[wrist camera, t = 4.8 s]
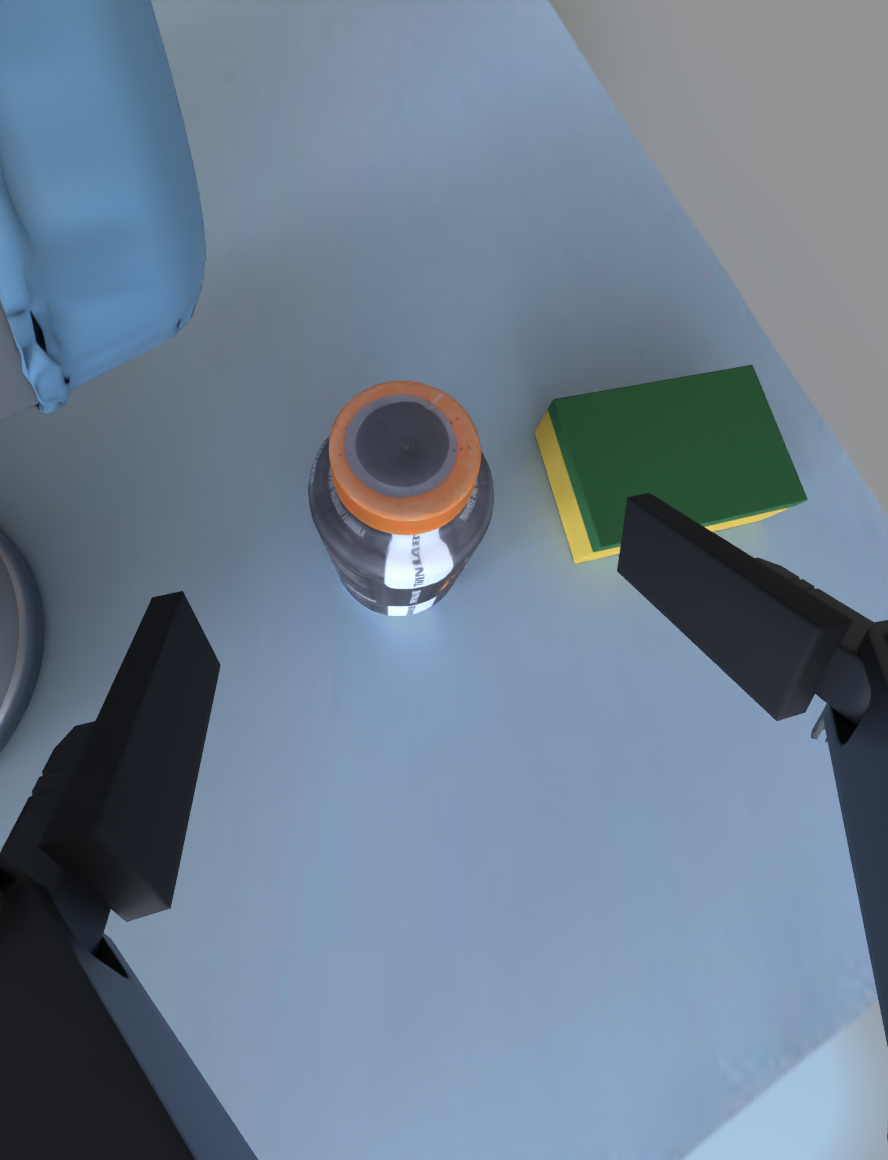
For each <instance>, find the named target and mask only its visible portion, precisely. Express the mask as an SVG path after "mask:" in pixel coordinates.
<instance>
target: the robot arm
mask: <svg viewBox="0 0 888 1160" xmlns="http://www.w3.org/2000/svg"><path fill="white" fill-rule="evenodd" d="M205 261H206V245H205V231H204V222H203V215H202V208H201V202H200V195H199V189H198V184H197V179H196V174H195V169H194V164H193V160H192V156H191V151H190V147H189V143H188V138H187V134H186V130H185V126H184V122H183V118H182V114H181V110H180V106H179V102H178V98H177V94H176V90H175V86H174V82H173V78H172V74H171V70H170V67H169V63H168V59H167V56H166V52H165V49H164V45H163V42H162V38H161V35H160V31H159V28H158V24H157V21H156V17H155V14H154V11H153V7H152V4H151V1H150V0H0V421H1V420H3V419H5V418H7V417H9V416H12V415H14V414H16V413H18V412H20V411H22V410H25V409H27V408H29V407H31V406H33V405H34V406H35V407H36V408H37V409H38V410H40V411H42V412H45V413H46V414H47V413H51V412H54V411H56V410H59V409H60V408H61V407H62V406H64V405H65V404H66V402H67V400H68V397H69V392H70V390H72V389H74V388H76V387H78V386H80V385H82V384H84V383H86V382H88V381H90V380H92V379H94V378H96V377H97V376H99V375H101V374H103V373H105V372H107V371H109V370H111V369H113V368H115V367H117V366H119V365H121V364H123V363H125V362H127V361H129V360H131V359H133V358H134V357H136V356H138V355H140V354H142V353H144V352H146V351H148V350H150V349H152V348H154V347H156V346H158V345H160V344H162V343H164V342H165V341H167V340H168V339H170V338H172V337H173V336H174V335H175V334H177V333H178V332H179V331H180V330H181V329H182V328H183V327H184V326H185V325H186V324H187V322H188V321H189V320H190V318H191V317H192V314H193V311H194V309H195V306H196V303H197V300H198V297H199V294H200V291H201V288H202V281H203V278H204V266H205ZM617 571H618V572H619V573H620V574H621V575H622V576H623V577H624V578H625V579H626V580H627V581H628V582H629V583H630V584H631V585H632V586H634V587H635V588H636V589H637V590H638V591H639V592H640V593H641V594H642V595H643V596H644V597H645V598H646V599H647V600H648V601H649V602H651V603H652V604H653V605H654V606H655V607H656V608H657V609H658V610H659V611H660V612H661V613H662V614H663V615H664V616H665V617H667V618H668V619H669V620H670V621H671V622H672V623H673V624H674V625H675V626H676V627H677V628H678V629H679V630H680V631H681V632H683V633H684V634H685V635H686V636H687V637H688V638H689V639H690V640H691V641H692V642H693V643H694V644H695V645H696V646H697V647H698V648H700V649H701V650H702V651H703V652H704V653H705V654H706V655H707V656H708V657H709V658H710V659H711V660H712V661H713V662H714V663H716V664H717V665H718V666H719V667H720V668H721V669H722V670H723V671H724V672H725V673H726V674H727V675H728V676H729V677H730V678H731V679H733V680H734V681H735V682H736V683H737V684H738V685H739V686H740V687H741V688H742V689H743V690H744V691H745V692H746V693H747V694H749V695H750V696H751V697H752V698H753V699H754V700H755V701H756V702H757V703H758V704H759V705H760V706H761V707H762V708H763V709H764V710H766V711H767V712H768V713H769V714H770V715H771V716H772V717H773V718H774V719H775V720H776V721H779V720H782V719H785V718H788V717H792V716H795V715H798V714H801V713H805V712H806V710H807V708H808V706H809V704H810V702H811V700H812V698H813V696H814V694H816V695H818V696H819V697H820V698H821V699H823V700H824V701H825V702H826V703H827V704H826V706H825V708H824V710H823V712H822V713H821V715H820V717H819V719H818V721H817V722H816V724H815V726H814V728H813V730H812V734H811V738H813V739H817V738H818V736H819V735H820V733H821V731H822V730H823V729H825V730H826V735H827V738H826V740H825V742H828V745H829V750H830V755H831V760H832V766H833V771H834V776H835V781H836V786H837V791H838V796H839V801H840V806H841V811H842V816H843V821H844V827H845V832H846V837H847V842H848V847H849V852H850V857H851V862H852V867H853V872H854V877H855V883H856V888H857V893H858V898H859V903H860V908H861V913H862V918H863V923H864V928H865V933H866V938H867V944H868V949H869V954H870V959H871V964H872V969H873V974H874V979H875V984H876V989H877V994H878V1000H879V1005H880V1009H881V1015H882V1020H883V1025H884V1030H885V1035H886V1040H887V1045H888V620H886V621H880V622H875V623H874V622H872V621H871V620H869V619H867V618H866V617H864V616H862V615H861V614H859V613H857V612H856V611H854V610H853V609H851V608H849V607H848V606H846V605H844V604H843V603H841V602H839V601H838V600H836V599H834V598H833V597H831V596H829V595H828V594H826V593H825V592H823V591H821V590H820V589H815V588H814V586H813V585H811V584H810V583H808V582H806V581H805V580H803V579H802V580H800V579H799V577H798V576H797V575H795V574H793V573H792V572H790V571H788V570H787V569H785V568H783V567H782V566H780V565H777V564H774V563H771V562H769V561H766V560H763V559H760V558H753V557H751V556H750V555H748V554H747V553H745V552H743V551H742V550H740V549H739V548H737V547H736V546H734V545H732V544H731V543H729V542H728V541H726V540H724V539H723V538H721V537H720V536H718V535H716V534H715V533H713V532H712V531H710V530H708V529H707V528H705V527H704V526H702V525H700V524H699V523H697V522H696V521H694V520H692V519H691V518H689V517H688V516H686V515H684V514H683V513H681V512H680V511H678V510H676V509H675V508H673V507H672V506H670V505H669V504H667V503H665V502H664V501H662V500H661V499H659V498H657V497H656V496H654V495H653V494H651V493H645V494H640V495H636V496H631V497H627V503H626V510H625V517H624V525H623V532H622V539H621V546H620V554H619V561H618V568H617ZM43 638H44V627H43V613H42V607H41V601H40V597H39V594H38V590H37V586H36V584H35V581H34V579H33V576H32V574H31V571H30V569H29V568H28V566H27V564H26V562H25V560H24V559H23V557H22V555H21V554H20V553H19V551H18V550H17V548H16V547H15V546H14V544H13V543H12V542H11V541H10V540H9V539H8V538H7V537H6V535H5V534H4V533H3V532H2V531H1V530H0V751H1V750H2V748H3V747H4V745H5V744H6V743H7V741H8V740H9V738H10V737H11V735H12V733H13V732H14V730H15V728H16V727H17V725H18V723H19V722H20V720H21V718H22V716H23V714H24V712H25V710H26V707H27V705H28V703H29V700H30V698H31V695H32V693H33V690H34V687H35V684H36V680H37V677H38V673H39V669H40V664H41V658H42V652H43ZM219 670H220V663H219V661H218V659H217V657H216V655H215V653H214V651H213V649H212V647H211V645H210V643H209V641H208V639H207V637H206V636H205V634H204V632H203V630H202V628H201V626H200V624H199V622H198V620H197V618H196V616H195V614H194V612H193V610H192V608H191V606H190V604H189V602H188V600H187V598H186V596H185V594H184V592H183V591H180V592H175V593H171V594H166V595H161V596H156V597H152V599H151V601H150V603H149V606H148V608H147V610H146V612H145V614H144V617H143V619H142V621H141V623H140V625H139V627H138V630H137V632H136V634H135V636H134V638H133V640H132V643H131V645H130V647H129V649H128V651H127V654H126V656H125V658H124V660H123V662H122V664H121V667H120V669H119V671H118V673H117V675H116V678H115V680H114V682H113V684H112V686H111V688H110V691H109V693H108V695H107V697H106V699H105V701H104V704H103V706H102V708H101V710H100V712H99V715H98V717H97V719H96V721H94V722H90V723H86V724H82V725H77V726H75V727H74V728H73V729H72V730H71V731H70V732H69V733H68V734H67V735H66V737H65V738H64V739H63V740H62V741H61V742H60V743H59V744H58V745H57V746H56V747H55V748H54V750H53V752H52V754H51V756H50V758H49V760H48V762H47V764H46V765H45V767H44V769H43V771H42V773H43V775H42V776H41V777H39V779H38V781H37V783H36V785H35V787H34V789H33V790H32V794H33V795H32V796H31V797H29V798H28V800H27V802H26V804H25V806H24V808H23V810H22V812H21V814H20V815H19V817H18V819H17V821H16V823H15V825H14V827H13V829H12V831H11V833H10V835H9V837H8V839H7V841H6V842H5V844H4V846H3V848H2V850H1V852H0V1160H258V1159H257V1157H256V1156H255V1154H254V1153H253V1151H252V1150H251V1148H250V1147H249V1145H248V1144H247V1142H246V1141H245V1139H244V1138H243V1136H242V1135H241V1133H240V1132H239V1130H238V1129H237V1127H236V1126H235V1124H234V1123H233V1121H232V1120H231V1118H230V1117H229V1115H228V1114H227V1112H226V1111H225V1109H224V1108H223V1106H222V1105H221V1103H220V1102H219V1100H218V1099H217V1097H216V1096H215V1094H214V1093H213V1091H212V1090H211V1088H210V1087H209V1085H208V1084H207V1082H206V1081H205V1079H204V1078H203V1076H202V1075H201V1073H200V1072H199V1070H198V1069H197V1067H196V1066H195V1064H194V1063H193V1061H192V1060H191V1058H190V1057H189V1055H188V1054H187V1052H186V1051H185V1049H184V1048H183V1046H182V1045H181V1043H180V1042H179V1040H178V1039H177V1037H176V1036H175V1034H174V1033H173V1031H172V1030H171V1028H170V1027H169V1025H168V1024H167V1022H166V1021H165V1019H164V1018H163V1016H162V1015H161V1013H160V1012H159V1010H158V1009H157V1007H156V1006H155V1004H154V1003H153V1001H152V1000H151V998H150V997H149V995H148V994H147V992H146V991H145V989H144V988H143V986H142V985H141V983H140V982H139V980H138V979H137V977H136V976H135V974H134V973H133V971H132V970H131V968H130V967H129V965H128V964H127V962H126V961H125V959H124V958H123V956H122V955H121V953H120V952H119V950H118V949H117V947H116V946H115V944H114V943H113V941H112V940H111V939H110V938H109V937H108V936H106V935H105V934H104V929H105V926H106V923H107V919H108V916H109V913H110V909H112V910H113V911H114V912H115V913H116V914H118V915H119V916H120V917H121V918H122V919H124V920H125V921H126V922H128V921H131V920H134V919H137V918H141V917H144V916H147V915H150V914H153V913H157V912H160V911H163V910H166V909H170V908H171V904H172V899H173V894H174V889H175V884H176V879H177V875H178V870H179V865H180V860H181V855H182V850H183V845H184V840H185V836H186V831H187V826H188V821H189V816H190V811H191V806H192V802H193V797H194V792H195V787H196V782H197V777H198V772H199V767H200V763H201V758H202V753H203V748H204V743H205V738H206V733H207V728H208V724H209V719H210V714H211V709H212V704H213V699H214V694H215V689H216V685H217V680H218V675H219ZM887 1137H888V1135H887Z"/></svg>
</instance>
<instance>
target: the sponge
mask: <svg viewBox="0 0 888 1160" xmlns="http://www.w3.org/2000/svg"><path fill="white" fill-rule="evenodd" d="M535 436H536V439H537V442H538V446H539V449H540V452H541V455H542V459H543V462H544V465H545V468H546V472H547V475H548V478H549V481H550V484H551V488H552V491H553V494H554V497H555V501H556V504H557V507H558V510H559V513H560V517H561V520H562V523H563V526H564V530H565V533H566V536H567V539H568V543H569V546H570V549H571V552H572V555H573V559H574V562H575V563H581V562H585V561H590V560H594V559H598V558H602V557H607V556H611V555H615V554H620V546H621V539H622V532H623V525H624V517H625V510H626V503H627V497H631V496H636V495H640V494H645V493H651V494H653V495H654V496H656V497H657V498H659V499H661V500H662V501H664V502H665V503H667V504H669V505H670V506H672V507H673V508H675V509H676V510H678V511H680V512H681V513H683V514H684V515H686V516H688V517H689V518H691V519H692V520H694V521H696V522H697V523H699V524H700V525H702V526H704V527H705V528H707V529H708V530H710V531H712V532H714V531H718V530H722V529H727V528H731V527H735V526H739V525H744V524H748V523H752V522H756V521H760V520H762V519H765V518H767V517H770V516H772V515H774V514H777V513H779V512H781V511H784V510H786V509H788V508H790V507H793V506H795V505H798V504H800V503H802V502H805V501H807V497H806V494H805V492H804V490H803V487H802V485H801V482H800V480H799V477H798V475H797V472H796V470H795V468H794V465H793V463H792V460H791V458H790V455H789V453H788V451H787V448H786V446H785V443H784V441H783V438H782V436H781V433H780V431H779V429H778V426H777V424H776V421H775V419H774V416H773V414H772V412H771V409H770V407H769V404H768V402H767V399H766V397H765V394H764V392H763V390H762V387H761V385H760V382H759V380H758V377H757V375H756V373H755V370H754V368H753V366H752V365H749V366H743V367H737V368H732V369H726V370H720V371H714V372H709V373H703V374H697V375H691V376H686V377H680V378H674V379H668V380H662V381H657V382H651V383H645V384H639V385H634V386H628V387H622V388H616V389H611V390H605V391H599V392H593V393H588V394H582V395H576V396H570V397H564V398H559V399H554V400H553V401H552V403H551V404H550V406H549V408H548V410H547V411H546V413H545V415H544V417H543V418H542V420H541V422H540V423H539V425H538V427H537V429H536V430H535Z"/></svg>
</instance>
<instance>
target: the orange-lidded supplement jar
mask: <svg viewBox="0 0 888 1160" xmlns="http://www.w3.org/2000/svg"><path fill="white" fill-rule="evenodd" d="M309 503H310V508H311V513H312V518H313V521H314V523H315V525H316V528H317V530H318V532H319V534H320V536H321V539H322V540H323V543H324V545H325V547H326V549H327V551H328V553H329V555H330V558H331V560H332V562H333V564H334V566H335V568H336V571H337V572H338V575H339V577H340V579H341V582H342V583H343V585H344V586H345V588H346V589H347V590H348V592H349V593H350V594H351V595H352V596H353V597H354V598H355V599H356V600H357V601H358V602H359V603H361V604H362V605H363V606H365V607H367V608H368V609H370V610H372V611H374V612H378V613H381V614H384V615H391V616H404V615H412V614H415V613H418V612H421V611H423V610H426V609H428V608H429V607H431V606H433V605H435V604H436V603H437V602H438V601H440V600H441V599H442V598H443V597H444V596H445V594H446V593H447V592H448V591H449V589H450V588H451V586H452V585H453V583H454V582H455V580H456V578H457V577H458V575H459V574H460V573H461V571H462V569H463V568H464V566H465V564H466V563H467V561H468V560H469V558H470V557H471V555H472V554H473V553H474V551H475V549H476V547H477V546H478V545H479V543H480V542H481V540H482V538H483V536H484V534H485V533H486V530H487V528H488V525H489V523H490V519H491V515H492V510H493V503H494V490H493V481H492V476H491V472H490V469H489V466H488V463H487V461H486V459H485V457H484V455H483V453H482V451H481V447H480V442H479V437H478V433H477V430H476V428H475V426H474V424H473V422H472V420H471V419H470V417H469V415H468V413H467V412H466V411H465V410H464V409H463V407H462V406H460V405H459V404H458V403H457V402H456V401H455V400H454V399H453V398H452V397H450V396H449V395H448V394H446V393H444V392H443V391H441V390H438V389H436V388H434V387H431V386H428V385H425V384H422V383H418V382H411V381H392V382H387V383H382V384H378V385H375V386H373V387H371V388H368V389H366V390H364V391H362V392H361V393H359V394H358V395H356V396H355V397H354V398H352V399H351V400H350V401H349V402H348V403H347V404H346V405H345V406H344V407H343V409H342V410H341V412H340V413H339V414H338V416H337V418H336V420H335V422H334V425H333V427H332V431H331V434H330V436H329V437H328V438H327V439H326V440H325V442H324V443H323V445H322V447H321V448H320V450H319V451H318V454H317V456H316V458H315V461H314V463H313V466H312V470H311V474H310V480H309Z"/></svg>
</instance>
